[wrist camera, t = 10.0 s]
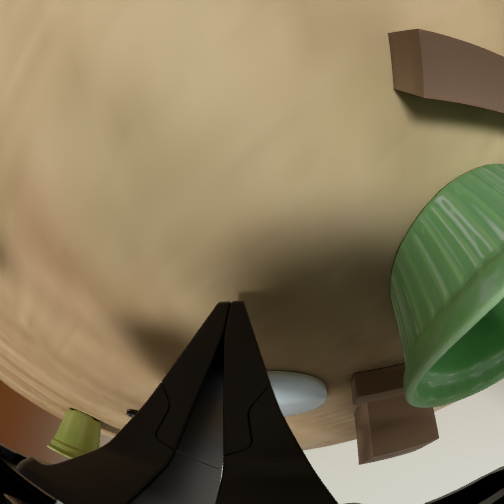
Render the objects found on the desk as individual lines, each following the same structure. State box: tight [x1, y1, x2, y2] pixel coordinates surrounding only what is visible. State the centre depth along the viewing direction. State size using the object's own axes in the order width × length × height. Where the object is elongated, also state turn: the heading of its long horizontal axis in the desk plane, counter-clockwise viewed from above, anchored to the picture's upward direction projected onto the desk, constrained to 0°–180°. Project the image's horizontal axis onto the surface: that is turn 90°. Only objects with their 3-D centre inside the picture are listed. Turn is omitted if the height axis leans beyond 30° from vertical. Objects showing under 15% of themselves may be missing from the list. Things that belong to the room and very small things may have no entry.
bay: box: [351, 29, 504, 405], centre depth 8 cm, size 17×12×2 cm
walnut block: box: [354, 395, 439, 464], centre depth 15 cm, size 5×5×5 cm
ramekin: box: [390, 164, 504, 408], centre depth 6 cm, size 9×9×4 cm
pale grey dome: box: [267, 371, 327, 416], centre depth 15 cm, size 7×7×1 cm
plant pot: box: [47, 408, 101, 459], centre depth 28 cm, size 9×9×9 cm
